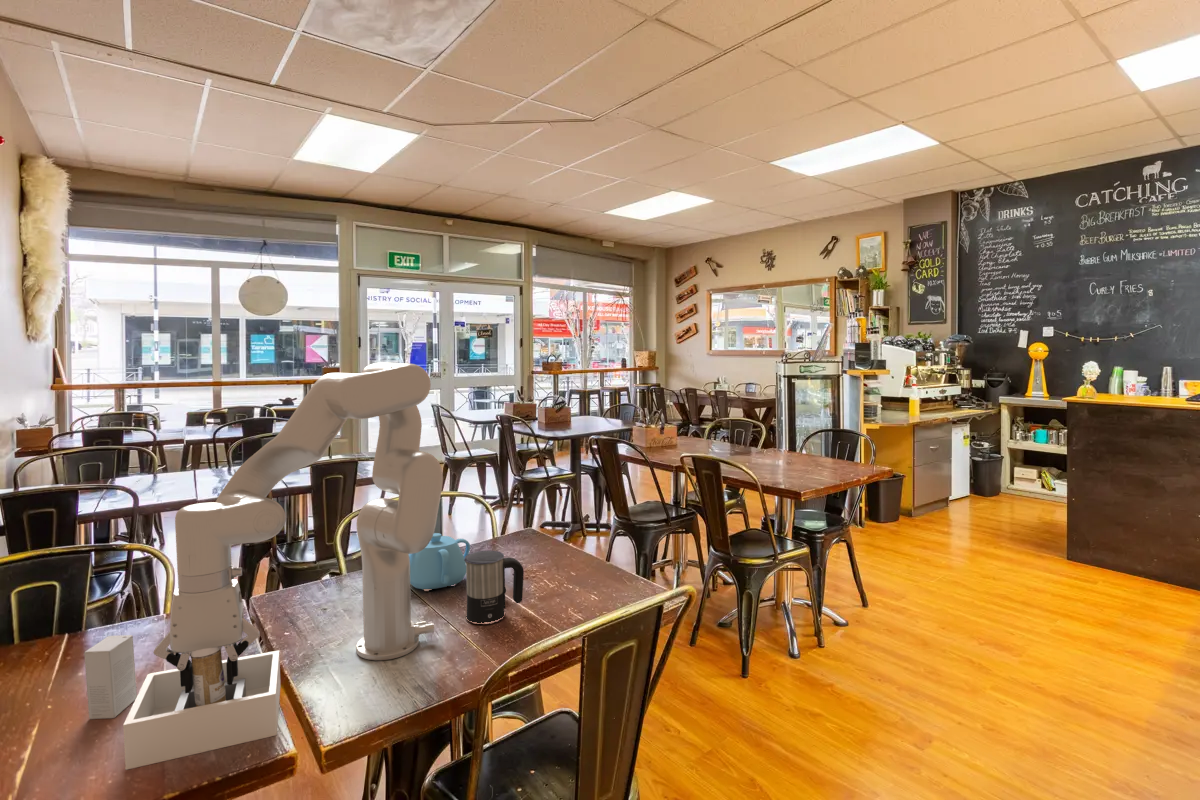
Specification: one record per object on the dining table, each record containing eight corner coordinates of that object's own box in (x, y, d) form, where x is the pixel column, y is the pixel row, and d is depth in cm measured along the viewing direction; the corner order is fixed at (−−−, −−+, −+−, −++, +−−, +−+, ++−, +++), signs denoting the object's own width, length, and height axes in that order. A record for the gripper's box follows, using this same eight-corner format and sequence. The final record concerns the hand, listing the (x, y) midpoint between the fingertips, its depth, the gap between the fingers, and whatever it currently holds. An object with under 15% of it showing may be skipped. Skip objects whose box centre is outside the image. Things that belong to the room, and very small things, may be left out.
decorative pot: (429, 570, 177) (428, 523, 176) (477, 577, 171) (477, 529, 170) (391, 590, 162) (390, 539, 160) (443, 599, 156) (442, 546, 155)
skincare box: (112, 699, 110) (108, 635, 109) (137, 699, 110) (134, 634, 109) (87, 720, 104) (83, 651, 103) (113, 719, 104) (110, 650, 103)
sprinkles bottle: (228, 718, 103) (221, 640, 102) (196, 728, 100) (188, 649, 99) (227, 705, 107) (220, 630, 105) (196, 715, 104) (188, 638, 103)
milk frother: (477, 630, 139) (477, 565, 138) (444, 607, 151) (444, 548, 150) (529, 612, 148) (529, 552, 147) (495, 593, 160) (494, 537, 159)
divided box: (280, 686, 115) (279, 650, 114) (277, 734, 100) (275, 693, 100) (149, 712, 106) (147, 673, 106) (125, 769, 92) (123, 725, 91)
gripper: (265, 564, 108) (269, 663, 110) (147, 579, 101) (153, 685, 103) (263, 578, 102) (267, 684, 103) (136, 595, 94) (142, 709, 96)
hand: (210, 683), depth 103 cm, fingers open, 5 cm apart
